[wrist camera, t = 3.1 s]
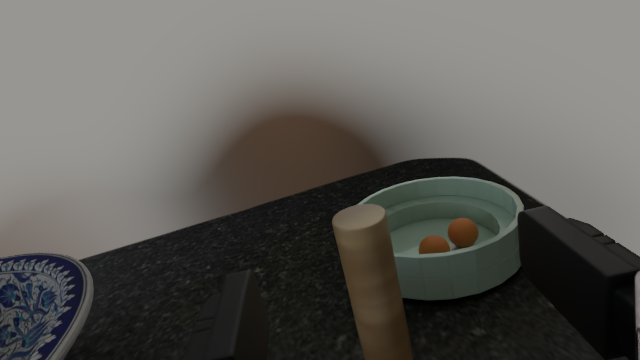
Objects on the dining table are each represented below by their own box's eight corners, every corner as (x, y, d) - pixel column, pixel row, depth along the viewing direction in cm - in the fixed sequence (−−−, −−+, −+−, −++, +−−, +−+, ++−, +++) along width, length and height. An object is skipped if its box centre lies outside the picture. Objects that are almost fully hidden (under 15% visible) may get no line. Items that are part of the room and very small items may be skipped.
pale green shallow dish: (563, 242, 41) (562, 196, 39) (443, 335, 33) (435, 283, 31) (430, 202, 55) (425, 167, 53) (325, 261, 47) (315, 222, 45)
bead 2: (486, 243, 42) (483, 217, 41) (466, 256, 41) (463, 229, 40) (462, 234, 45) (459, 209, 44) (443, 246, 43) (439, 221, 42)
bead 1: (458, 261, 40) (455, 234, 39) (437, 276, 39) (433, 248, 38) (435, 252, 43) (431, 226, 42) (414, 265, 42) (410, 239, 41)
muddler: (442, 394, 28) (412, 209, 23) (394, 436, 26) (351, 243, 21) (397, 359, 32) (364, 193, 27) (352, 393, 30) (307, 221, 25)
